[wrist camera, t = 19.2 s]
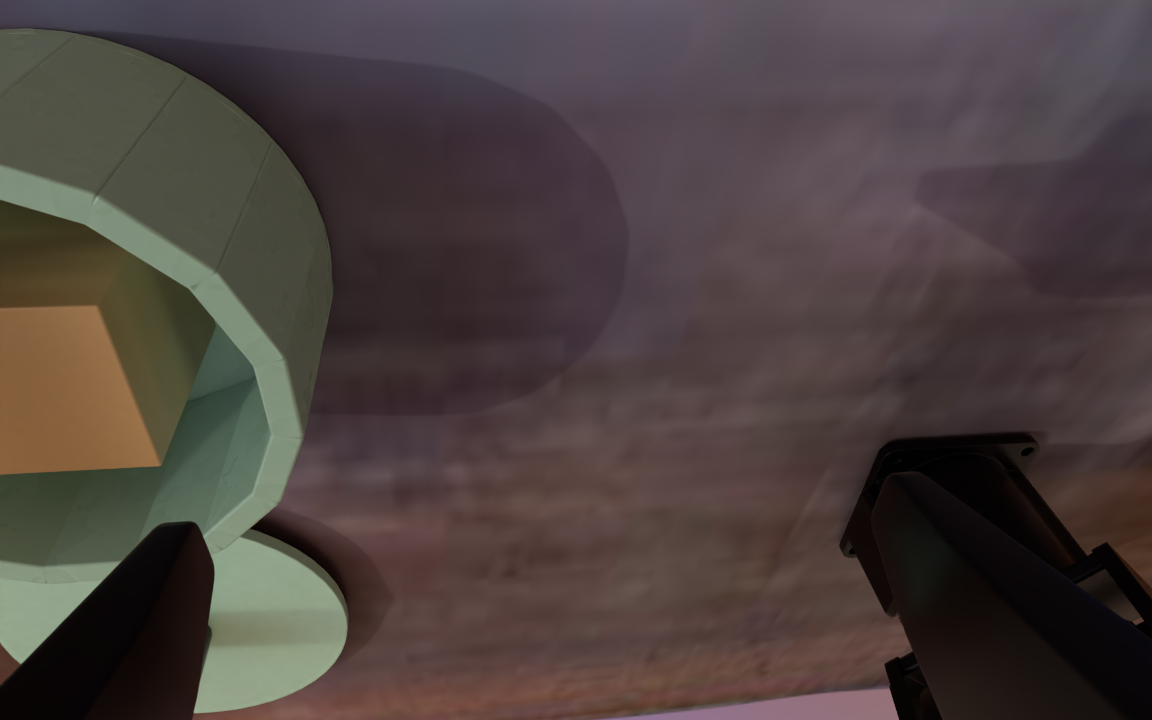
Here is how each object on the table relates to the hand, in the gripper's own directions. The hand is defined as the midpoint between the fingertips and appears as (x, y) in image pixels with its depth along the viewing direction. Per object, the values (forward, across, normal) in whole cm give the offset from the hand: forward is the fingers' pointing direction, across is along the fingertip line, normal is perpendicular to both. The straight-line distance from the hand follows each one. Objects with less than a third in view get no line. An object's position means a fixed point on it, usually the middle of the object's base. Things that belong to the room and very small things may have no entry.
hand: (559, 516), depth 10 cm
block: (+12, +11, +3) cm, 17 cm away
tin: (+13, +11, +3) cm, 17 cm away
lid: (+12, +13, +19) cm, 26 cm away
